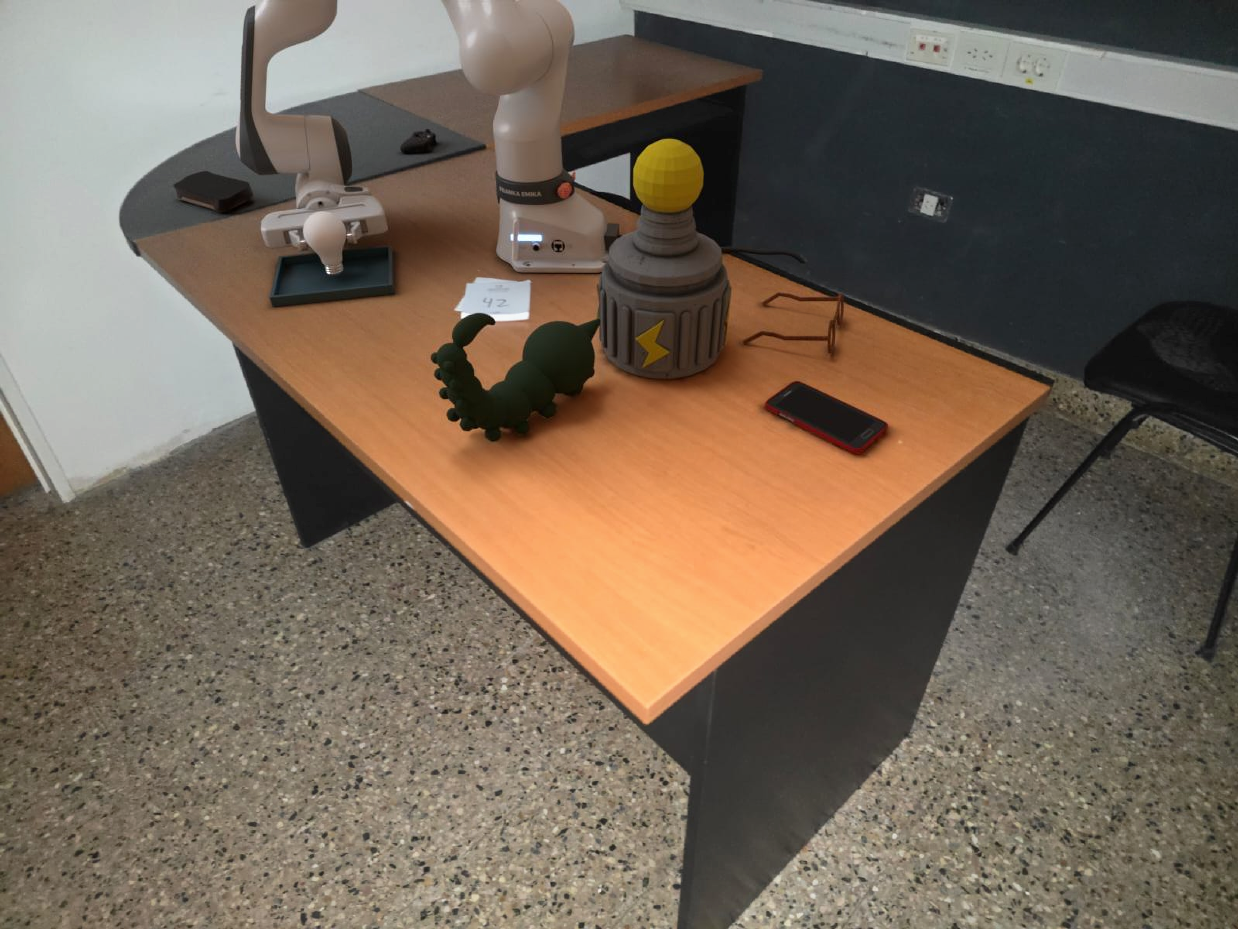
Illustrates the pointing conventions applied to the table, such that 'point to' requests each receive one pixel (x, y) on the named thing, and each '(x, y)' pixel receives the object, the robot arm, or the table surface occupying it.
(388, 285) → the tray
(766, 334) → the glasses
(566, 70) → the robot arm
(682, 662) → the table surface
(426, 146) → the game controller
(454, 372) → the toy figurine
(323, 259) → the light bulb
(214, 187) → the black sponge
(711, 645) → the table surface
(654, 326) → the decorative lamp
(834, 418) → the cell phone
